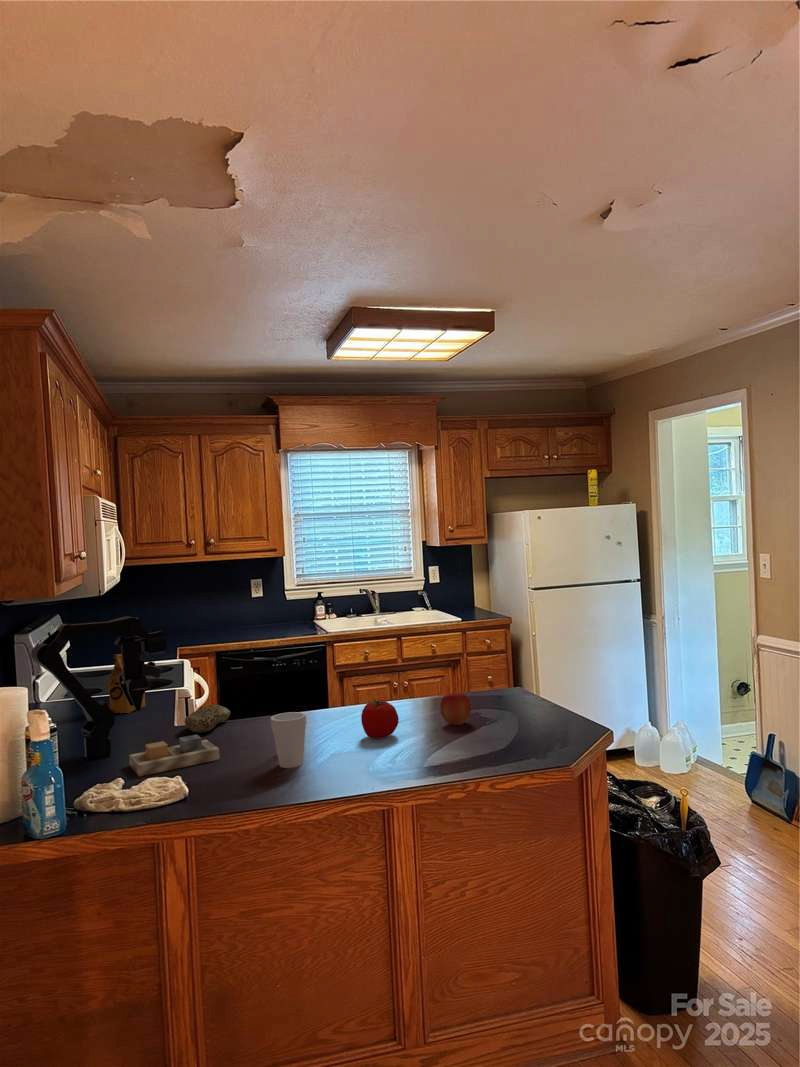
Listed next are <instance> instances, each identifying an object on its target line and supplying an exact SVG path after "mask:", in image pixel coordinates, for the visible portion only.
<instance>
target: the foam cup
mask: <svg viewBox="0 0 800 1067" xmlns="http://www.w3.org/2000/svg"><path fill="white" fill-rule="evenodd" d="M306 725H307V715H306V713H304V712H302V711H301V712H300V711H298V712H296V711H291V712H290V711H289V712H283V713H282V712H281V713H277V714H275V715H273V716H271V717H270V727H271V728H272V733H273V739H274V744H275V749H276V754H277V757H278V758H277V759H278V764H279V767H280V768H283V769H284V768H285V769H291V768H297V767H300V766H302V765H303V764H304V759H305V758H304V756H305V754H304V753H305V743H306V742H305V741H306V740H305V738H306Z"/></svg>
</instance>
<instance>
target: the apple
mask: <svg viewBox="0 0 800 1067" xmlns="http://www.w3.org/2000/svg"><path fill="white" fill-rule="evenodd" d="M439 705H440V706H439V709H440V710H439V711H440V714H441V716H442V719H443V720H444V721H445V722H446V723H448V724H450V725H453V726H462V725H463V724H464V723H466V721H467V720H468V719H469V717H470V715H471V712H472V705H471V701H470V698H469V696H468V695H467V694H466V693H464V692H456V691H454V692H453V693H452V692H450V693H446V694H445V695H443V696H442V697H441V699H440V703H439Z"/></svg>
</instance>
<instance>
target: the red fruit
mask: <svg viewBox="0 0 800 1067" xmlns="http://www.w3.org/2000/svg"><path fill="white" fill-rule="evenodd" d="M360 715H361V718H360V720H361V725H362V729H363V731H364V733H365V735H366V736H367V737H368V738H370V739H383V738H388V737H390V736H391V735H392V734H393V733H394V732H395V731H396V729H397V727H398V725H399V715H398V712H397V709H396V707H395V706H394V705H393V704H391V703H390V702H387V700H386V701H384V700H376V699H375V698H373V702H368V703H366V704H365V706H364V707H363V709H362V711H361V714H360Z"/></svg>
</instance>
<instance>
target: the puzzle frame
mask: <svg viewBox="0 0 800 1067" xmlns="http://www.w3.org/2000/svg"><path fill="white" fill-rule="evenodd" d="M178 739H179V740H178V742H179V744H177V745H172V746H168V757H164V758H159V759H154V760H150V761H146V751H142V752H137V753H132V754H129V755H128V758H129V759H128V760H129V766H130V768H131V769H132V770H133V771H134V772H135V773H136V774H137V776H138V777H143V776H148V775H152V774H157V773H158V774H159V773H161V772H166V771H171V770H176V769H180V768H185V767H190V766H194V765H200V764H204V763H208V762H214V761H218V760H220V759H221V758H220V748H219V747H218V746H216V745H214V744H213V743H212V742H210V741H209V740H207V739H202V737H200V735H198V733H197V734H193V735H192V734H191V735H186V736H182V737H178Z"/></svg>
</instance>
